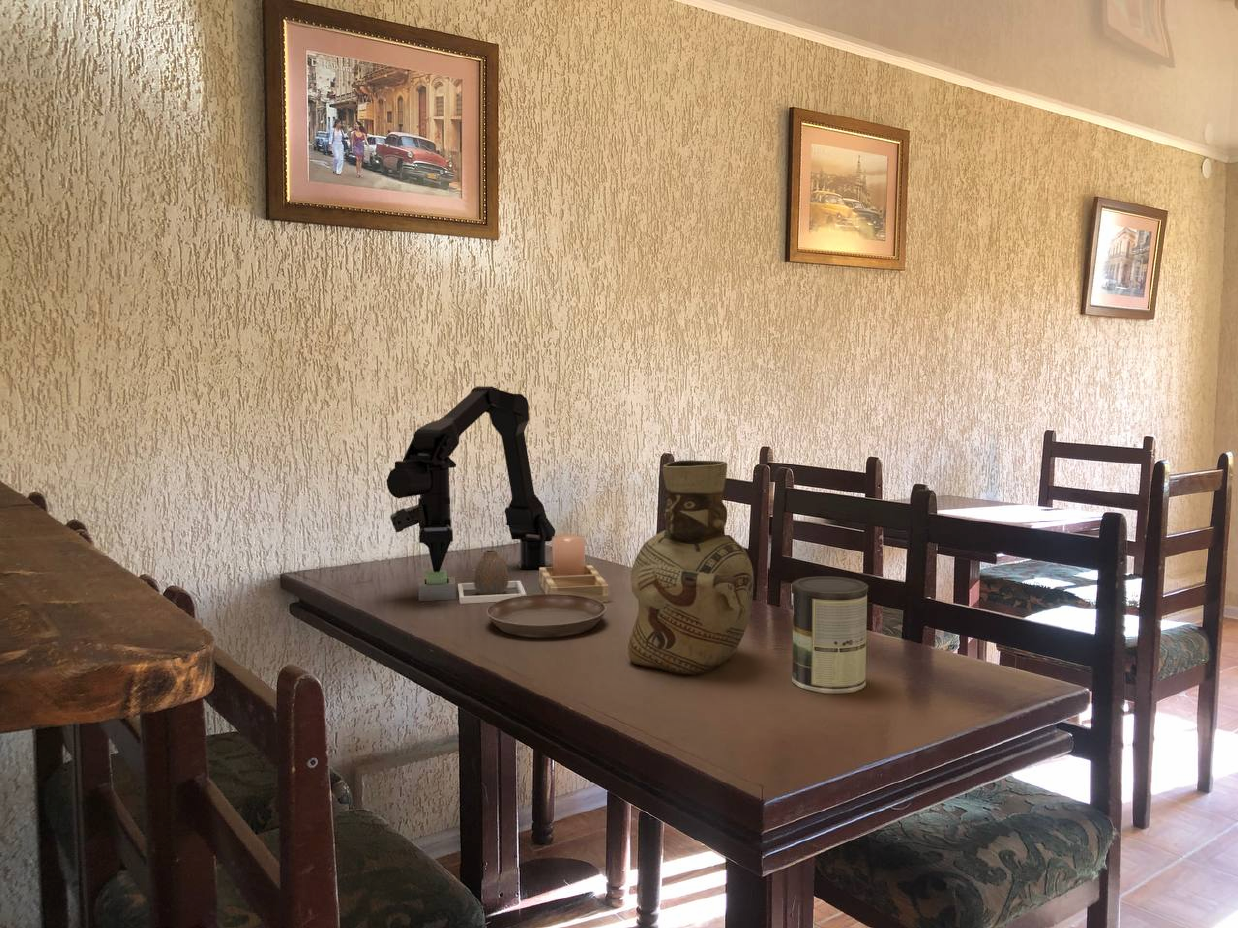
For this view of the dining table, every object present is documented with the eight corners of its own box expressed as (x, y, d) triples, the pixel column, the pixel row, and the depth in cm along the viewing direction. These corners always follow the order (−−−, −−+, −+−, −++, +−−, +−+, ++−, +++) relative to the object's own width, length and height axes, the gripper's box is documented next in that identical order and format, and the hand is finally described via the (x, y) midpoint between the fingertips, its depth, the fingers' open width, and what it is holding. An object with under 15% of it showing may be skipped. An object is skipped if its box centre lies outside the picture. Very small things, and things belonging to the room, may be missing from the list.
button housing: (418, 593, 195) (418, 578, 195) (454, 591, 197) (454, 576, 197) (418, 601, 189) (418, 585, 188) (455, 599, 190) (455, 584, 190)
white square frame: (457, 589, 199) (457, 583, 199) (520, 586, 201) (520, 580, 201) (459, 603, 186) (459, 597, 186) (526, 600, 189) (526, 594, 189)
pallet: (539, 582, 204) (539, 567, 204) (591, 580, 207) (591, 565, 206) (551, 604, 185) (551, 588, 185) (608, 602, 187) (608, 585, 187)
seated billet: (550, 578, 203) (550, 535, 202) (582, 576, 204) (582, 533, 204) (554, 584, 197) (554, 540, 196) (587, 583, 198) (587, 539, 197)
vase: (506, 598, 190) (505, 554, 189) (470, 599, 190) (469, 554, 190) (511, 591, 197) (510, 547, 196) (476, 591, 197) (475, 547, 196)
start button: (426, 592, 194) (426, 569, 194) (447, 591, 195) (446, 568, 195) (426, 596, 190) (426, 573, 190) (447, 595, 191) (447, 572, 191)
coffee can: (777, 684, 138) (778, 585, 136) (813, 666, 146) (814, 572, 144) (845, 699, 131) (847, 595, 130) (878, 680, 139) (880, 582, 138)
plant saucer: (591, 645, 159) (591, 625, 158) (469, 639, 163) (469, 619, 163) (617, 614, 179) (617, 596, 178) (508, 609, 183) (508, 591, 183)
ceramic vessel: (660, 688, 136) (660, 472, 133) (608, 649, 155) (606, 459, 153) (781, 673, 143) (784, 467, 140) (716, 636, 162) (717, 455, 159)
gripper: (393, 488, 198) (395, 564, 200) (390, 499, 180) (392, 583, 182) (449, 486, 201) (451, 562, 202) (452, 497, 182) (453, 580, 184)
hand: (436, 571), depth 192 cm, fingers closed, pressing on start button
